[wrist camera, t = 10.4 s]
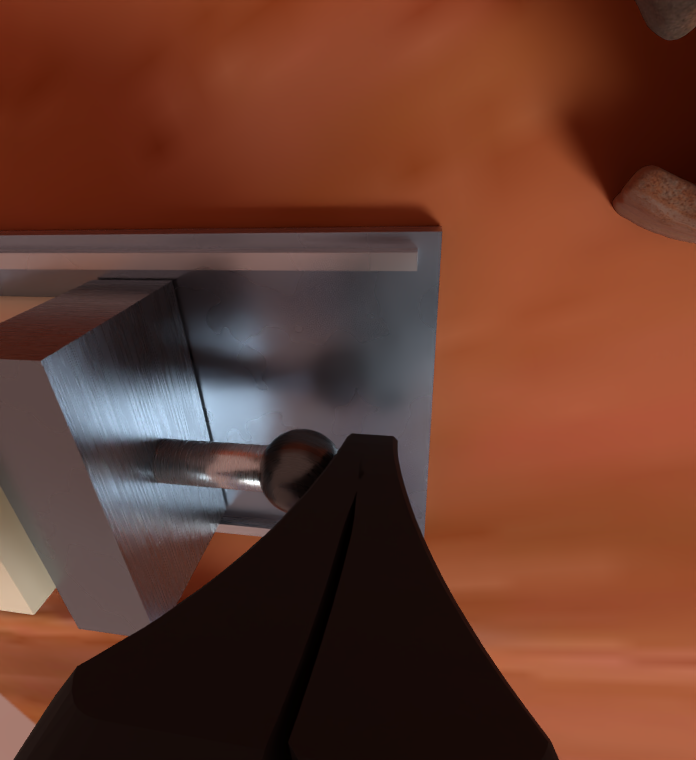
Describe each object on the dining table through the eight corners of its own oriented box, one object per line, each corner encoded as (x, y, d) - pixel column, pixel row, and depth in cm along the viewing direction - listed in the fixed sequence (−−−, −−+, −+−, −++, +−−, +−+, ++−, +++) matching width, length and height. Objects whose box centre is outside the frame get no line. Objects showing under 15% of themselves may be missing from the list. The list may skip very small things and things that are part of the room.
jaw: (360, 522, 14) (335, 665, 11) (157, 503, 15) (68, 627, 12) (351, 281, 11) (306, 371, 7) (82, 279, 12) (-87, 355, 8)
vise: (423, 535, 15) (420, 698, 11) (-87, 486, 18) (-245, 597, 14) (441, 226, 10) (448, 301, 6) (-259, 233, 14) (-580, 285, 9)
